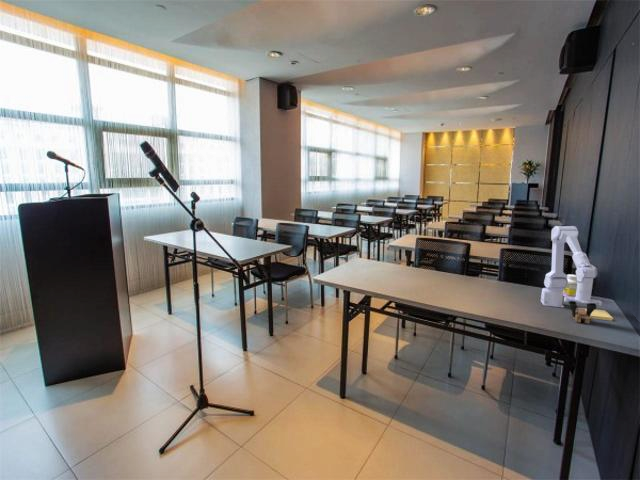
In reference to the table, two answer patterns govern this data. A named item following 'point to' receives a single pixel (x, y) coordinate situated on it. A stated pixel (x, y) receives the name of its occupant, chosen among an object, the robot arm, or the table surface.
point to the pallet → (579, 317)
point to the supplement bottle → (571, 286)
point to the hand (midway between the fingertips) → (580, 316)
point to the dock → (600, 315)
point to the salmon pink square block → (581, 311)
